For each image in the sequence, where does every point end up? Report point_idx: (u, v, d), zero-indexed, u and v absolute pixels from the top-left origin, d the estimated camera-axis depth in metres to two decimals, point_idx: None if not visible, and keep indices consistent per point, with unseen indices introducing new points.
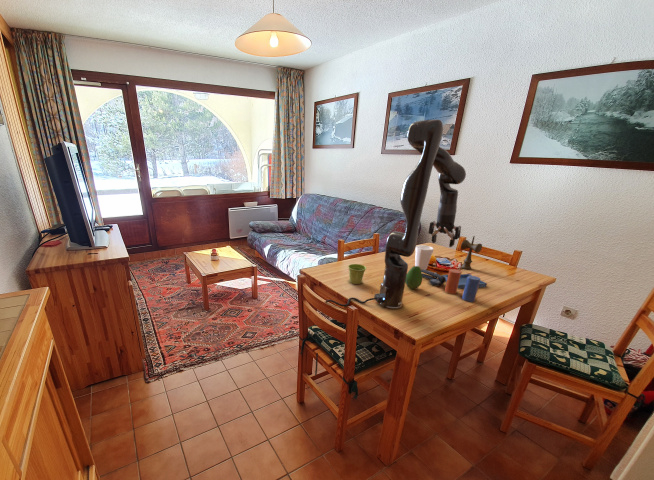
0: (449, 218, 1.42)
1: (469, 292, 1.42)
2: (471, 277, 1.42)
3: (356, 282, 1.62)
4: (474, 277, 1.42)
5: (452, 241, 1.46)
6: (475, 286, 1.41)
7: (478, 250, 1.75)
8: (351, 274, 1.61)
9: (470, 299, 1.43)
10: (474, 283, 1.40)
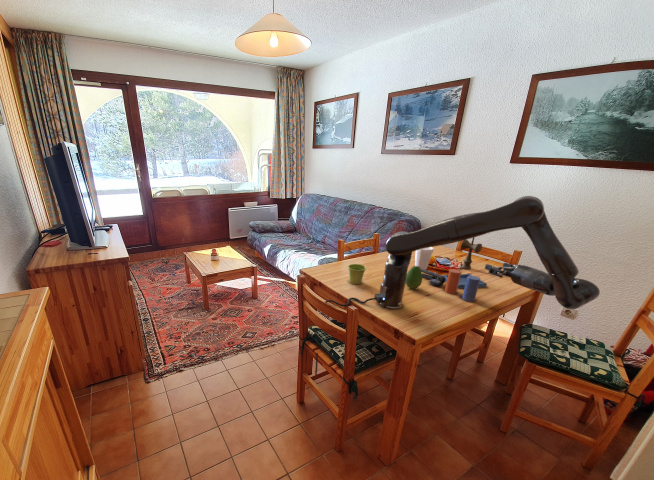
0: (520, 270, 1.15)
1: (469, 292, 1.42)
2: (471, 277, 1.42)
3: (356, 282, 1.62)
4: (474, 277, 1.42)
5: (490, 267, 1.26)
6: (475, 286, 1.41)
7: (478, 250, 1.75)
8: (351, 274, 1.61)
9: (470, 299, 1.43)
10: (474, 283, 1.40)
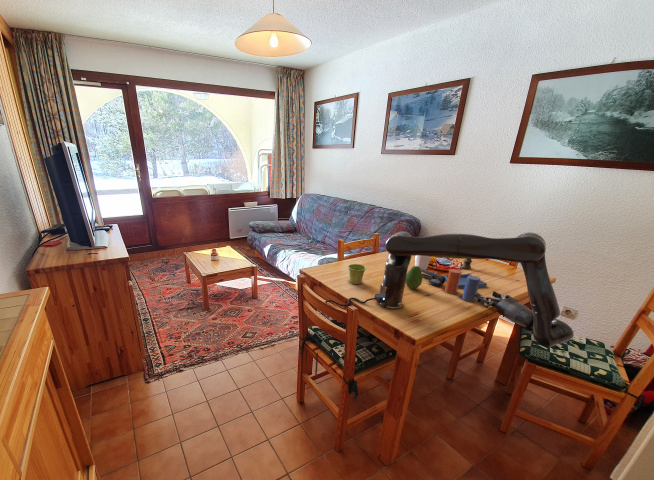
0: (505, 303, 1.21)
1: (469, 292, 1.42)
2: (471, 277, 1.42)
3: (356, 282, 1.62)
4: (474, 277, 1.42)
5: (479, 295, 1.32)
6: (475, 286, 1.41)
7: None
8: (351, 274, 1.61)
9: (470, 299, 1.43)
10: (474, 283, 1.40)
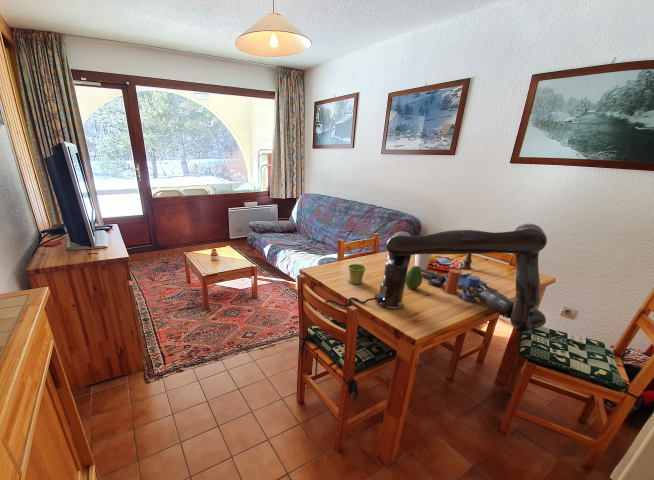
0: (486, 293, 1.31)
1: None
2: (471, 277, 1.42)
3: (356, 282, 1.62)
4: (474, 277, 1.42)
5: (465, 286, 1.43)
6: (475, 286, 1.41)
7: None
8: (351, 274, 1.61)
9: (470, 299, 1.43)
10: (474, 283, 1.40)
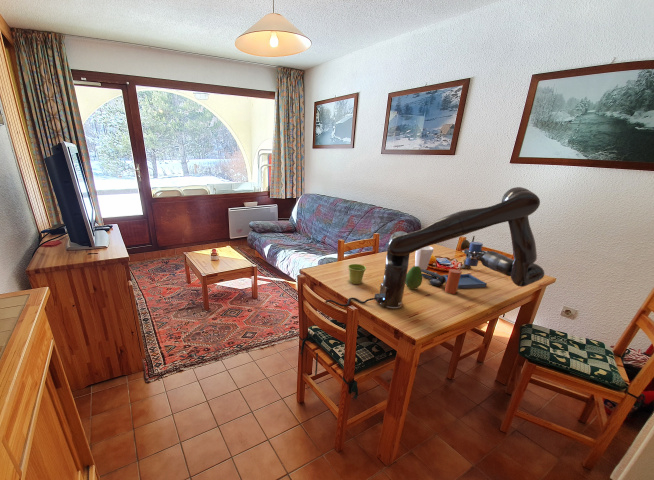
0: (488, 255, 1.39)
1: None
2: (474, 243, 1.50)
3: (356, 282, 1.62)
4: (477, 243, 1.50)
5: (468, 251, 1.50)
6: (478, 251, 1.48)
7: None
8: (351, 274, 1.61)
9: (473, 264, 1.51)
10: (476, 247, 1.48)
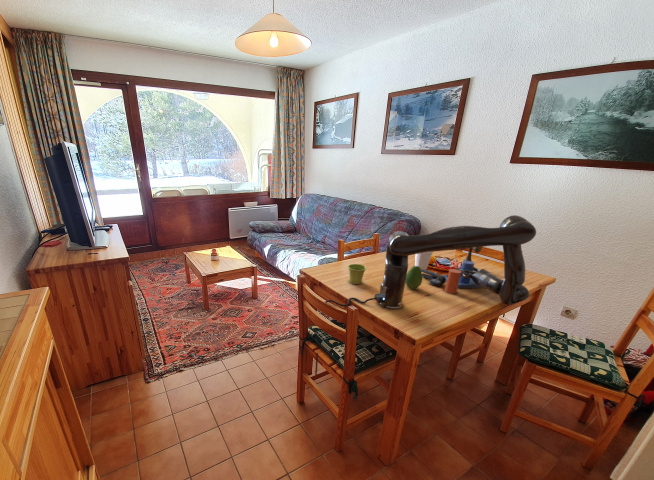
0: (479, 274, 1.49)
1: None
2: (466, 262, 1.60)
3: (356, 282, 1.62)
4: (469, 262, 1.60)
5: (459, 269, 1.60)
6: (470, 269, 1.59)
7: (478, 250, 1.75)
8: (351, 274, 1.61)
9: (465, 281, 1.61)
10: (468, 266, 1.58)
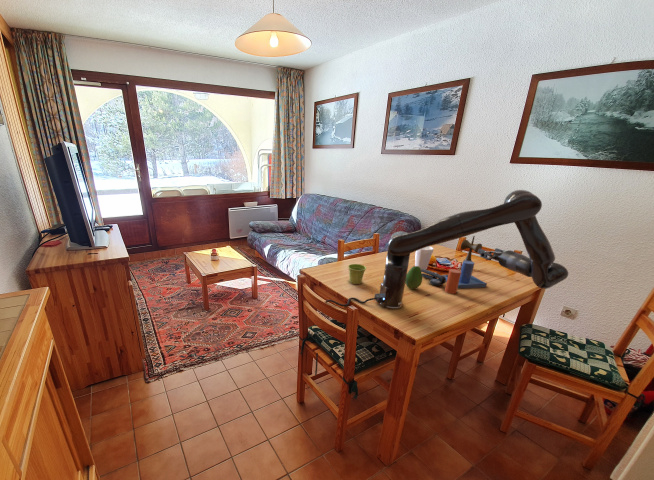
0: (507, 255, 1.33)
1: (465, 275, 1.60)
2: (466, 262, 1.60)
3: (356, 282, 1.62)
4: (469, 262, 1.60)
5: (482, 251, 1.44)
6: (470, 269, 1.59)
7: None
8: (351, 274, 1.61)
9: (465, 281, 1.61)
10: (468, 266, 1.58)
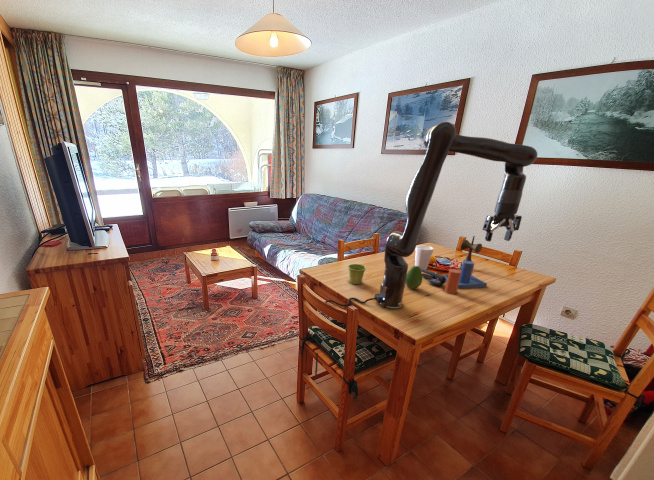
0: None
1: (465, 275, 1.60)
2: (466, 262, 1.60)
3: (356, 282, 1.62)
4: (469, 262, 1.60)
5: None
6: (470, 269, 1.59)
7: (478, 250, 1.75)
8: (351, 274, 1.61)
9: (465, 281, 1.61)
10: (468, 266, 1.58)
